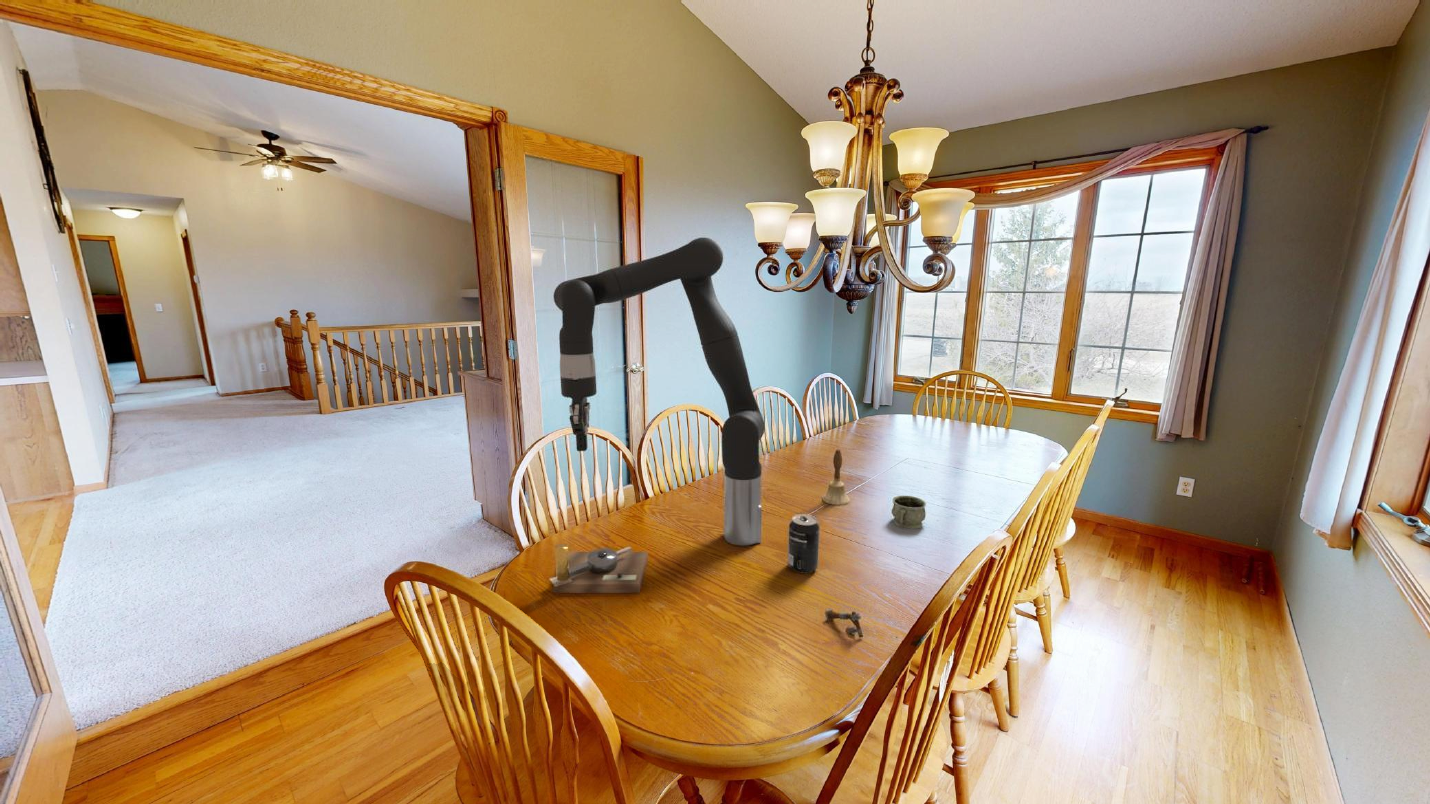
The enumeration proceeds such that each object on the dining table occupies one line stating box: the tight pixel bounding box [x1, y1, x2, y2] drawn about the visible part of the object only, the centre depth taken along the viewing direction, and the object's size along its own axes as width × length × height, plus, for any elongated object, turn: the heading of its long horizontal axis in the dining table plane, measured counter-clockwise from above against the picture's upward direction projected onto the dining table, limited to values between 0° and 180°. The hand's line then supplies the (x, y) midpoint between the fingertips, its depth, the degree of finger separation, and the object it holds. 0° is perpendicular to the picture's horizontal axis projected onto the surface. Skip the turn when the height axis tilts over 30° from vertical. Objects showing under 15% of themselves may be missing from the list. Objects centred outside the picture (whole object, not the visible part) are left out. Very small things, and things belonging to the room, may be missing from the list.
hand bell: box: [821, 448, 851, 506], centre depth 157 cm, size 8×8×16 cm
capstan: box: [554, 543, 632, 581], centre depth 114 cm, size 18×6×8 cm, turn 134°
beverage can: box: [787, 513, 821, 574], centre depth 118 cm, size 7×7×12 cm
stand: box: [549, 551, 648, 594], centre depth 116 cm, size 19×15×3 cm
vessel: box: [891, 495, 927, 529], centre depth 143 cm, size 12×9×6 cm
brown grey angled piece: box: [824, 608, 864, 639], centre depth 98 cm, size 2×8×4 cm, turn 36°
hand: (582, 450), depth 118 cm, fingers closed
